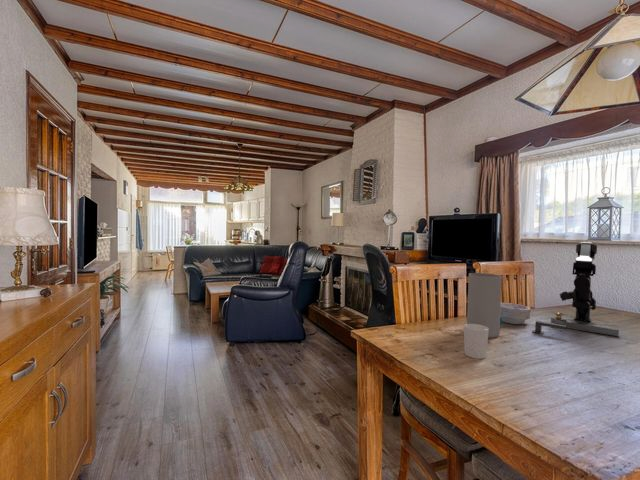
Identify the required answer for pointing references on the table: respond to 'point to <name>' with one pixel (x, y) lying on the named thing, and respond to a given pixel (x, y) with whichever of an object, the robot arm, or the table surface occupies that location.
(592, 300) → the robot arm
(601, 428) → the table surface
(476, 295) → the tall grey block
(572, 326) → the link
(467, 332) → the white cup
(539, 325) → the keeper
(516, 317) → the paper bowls
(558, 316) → the pintle
